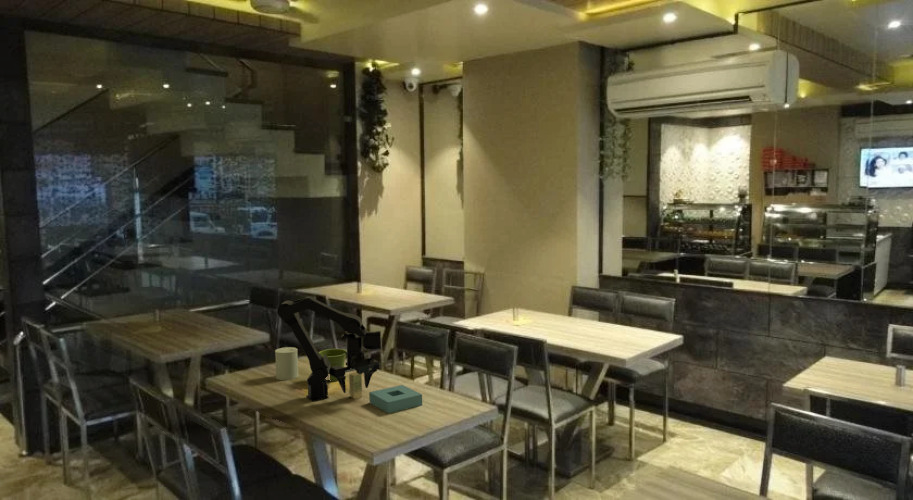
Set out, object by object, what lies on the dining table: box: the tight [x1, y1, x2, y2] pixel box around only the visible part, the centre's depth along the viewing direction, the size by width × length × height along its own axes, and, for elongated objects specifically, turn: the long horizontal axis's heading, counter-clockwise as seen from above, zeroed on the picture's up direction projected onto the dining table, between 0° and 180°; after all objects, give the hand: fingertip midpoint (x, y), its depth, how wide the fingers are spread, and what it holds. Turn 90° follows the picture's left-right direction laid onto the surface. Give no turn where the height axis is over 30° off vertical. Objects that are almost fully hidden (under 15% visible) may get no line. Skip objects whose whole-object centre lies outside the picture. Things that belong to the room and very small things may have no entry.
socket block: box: [368, 384, 423, 414], centre depth 237 cm, size 14×14×4 cm
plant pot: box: [318, 348, 347, 382], centre depth 267 cm, size 12×12×11 cm
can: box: [274, 346, 300, 381], centre depth 271 cm, size 9×9×12 cm
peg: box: [348, 371, 363, 400], centre depth 245 cm, size 3×3×9 cm
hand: (355, 390), depth 245 cm, fingers open, 9 cm apart
